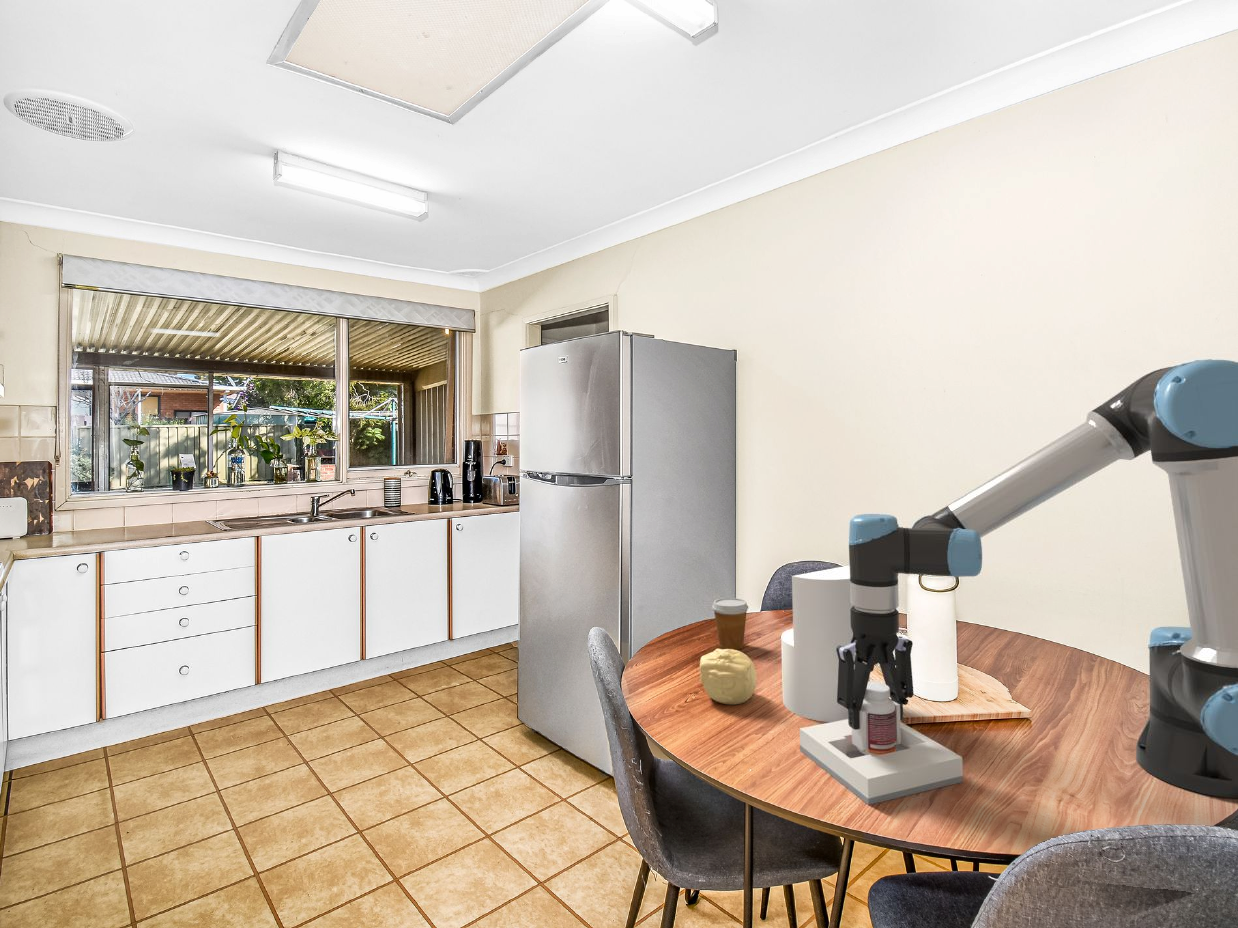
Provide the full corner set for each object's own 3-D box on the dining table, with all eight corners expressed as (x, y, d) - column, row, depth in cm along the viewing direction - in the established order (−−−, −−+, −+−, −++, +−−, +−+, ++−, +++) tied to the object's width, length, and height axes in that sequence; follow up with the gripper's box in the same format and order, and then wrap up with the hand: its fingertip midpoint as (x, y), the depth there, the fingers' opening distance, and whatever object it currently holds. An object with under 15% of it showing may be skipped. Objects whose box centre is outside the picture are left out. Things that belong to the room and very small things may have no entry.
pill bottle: (902, 750, 107) (901, 685, 107) (886, 763, 103) (885, 697, 103) (866, 738, 112) (865, 676, 111) (849, 751, 108) (848, 686, 107)
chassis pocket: (883, 733, 119) (883, 711, 119) (962, 781, 102) (962, 757, 101) (800, 750, 113) (799, 728, 113) (868, 804, 96) (867, 778, 96)
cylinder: (889, 708, 129) (886, 571, 128) (828, 730, 121) (825, 583, 119) (823, 681, 144) (820, 558, 143) (765, 699, 136) (762, 568, 135)
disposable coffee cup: (710, 651, 167) (709, 605, 167) (716, 639, 176) (714, 596, 176) (747, 653, 164) (746, 607, 164) (751, 641, 173) (749, 598, 173)
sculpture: (694, 704, 134) (692, 654, 134) (713, 684, 145) (712, 637, 144) (747, 714, 129) (746, 661, 128) (763, 692, 139) (762, 643, 139)
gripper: (904, 596, 113) (906, 724, 114) (811, 608, 107) (814, 742, 108) (937, 606, 106) (939, 742, 107) (839, 619, 100) (842, 763, 101)
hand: (876, 742), depth 107 cm, fingers closed on pill bottle, 6 cm apart
